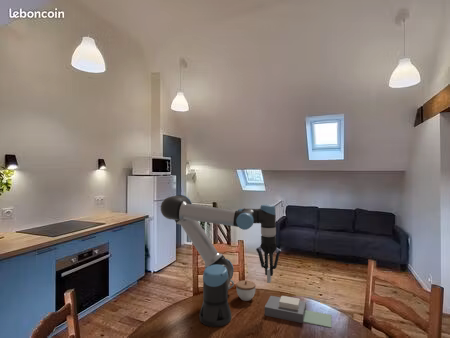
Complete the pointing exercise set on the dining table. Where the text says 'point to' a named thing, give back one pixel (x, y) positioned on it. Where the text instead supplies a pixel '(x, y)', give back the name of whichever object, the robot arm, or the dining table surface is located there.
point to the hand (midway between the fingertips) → (269, 281)
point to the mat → (317, 318)
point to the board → (284, 310)
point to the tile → (289, 302)
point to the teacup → (229, 284)
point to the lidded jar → (245, 289)
